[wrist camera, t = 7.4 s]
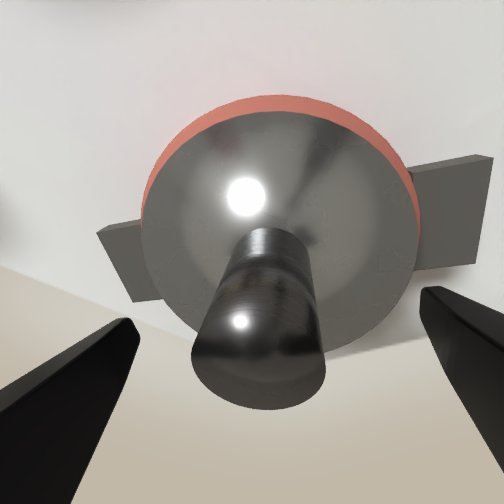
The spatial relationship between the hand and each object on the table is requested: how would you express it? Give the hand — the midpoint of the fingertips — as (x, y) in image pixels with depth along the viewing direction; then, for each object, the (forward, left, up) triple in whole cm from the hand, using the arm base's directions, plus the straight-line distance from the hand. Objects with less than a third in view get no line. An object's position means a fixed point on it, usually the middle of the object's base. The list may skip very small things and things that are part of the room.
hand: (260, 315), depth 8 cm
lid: (0, 0, -4) cm, 4 cm away
